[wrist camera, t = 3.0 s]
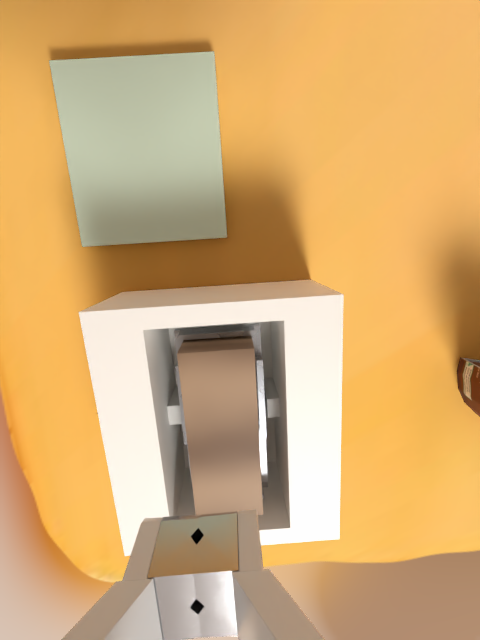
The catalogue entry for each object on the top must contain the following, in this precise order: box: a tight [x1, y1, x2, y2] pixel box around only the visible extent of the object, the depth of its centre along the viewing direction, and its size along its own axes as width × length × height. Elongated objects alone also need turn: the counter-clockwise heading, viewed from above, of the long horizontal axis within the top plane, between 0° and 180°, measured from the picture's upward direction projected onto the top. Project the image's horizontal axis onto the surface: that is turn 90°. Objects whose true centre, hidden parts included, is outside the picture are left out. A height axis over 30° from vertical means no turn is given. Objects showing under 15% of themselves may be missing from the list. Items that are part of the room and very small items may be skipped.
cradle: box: [174, 323, 268, 499], centre depth 21 cm, size 12×5×2 cm, turn 4°
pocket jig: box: [79, 279, 343, 556], centre depth 22 cm, size 16×14×7 cm
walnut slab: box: [177, 336, 263, 515], centre depth 20 cm, size 11×4×3 cm, turn 4°
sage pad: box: [49, 51, 227, 247], centre depth 21 cm, size 11×10×1 cm
